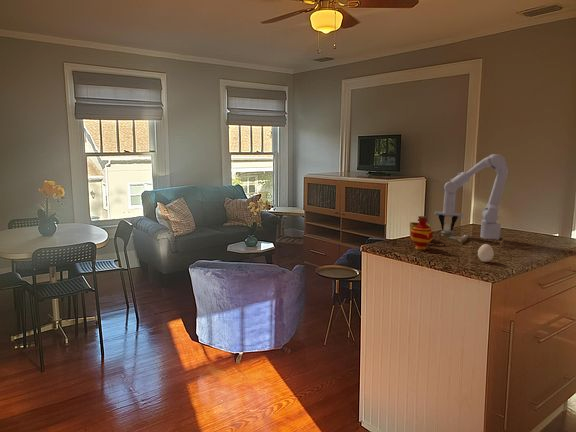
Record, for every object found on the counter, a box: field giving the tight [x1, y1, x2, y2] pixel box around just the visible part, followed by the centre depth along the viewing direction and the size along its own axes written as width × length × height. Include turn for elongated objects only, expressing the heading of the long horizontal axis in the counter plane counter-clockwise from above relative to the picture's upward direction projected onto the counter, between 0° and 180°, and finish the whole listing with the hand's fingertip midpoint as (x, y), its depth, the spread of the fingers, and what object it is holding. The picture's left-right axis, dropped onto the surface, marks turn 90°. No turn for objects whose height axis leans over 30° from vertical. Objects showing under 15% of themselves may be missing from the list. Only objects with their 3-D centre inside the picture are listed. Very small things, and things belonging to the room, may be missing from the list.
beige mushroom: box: [440, 222, 454, 236], centre depth 238 cm, size 6×6×6 cm
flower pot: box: [409, 221, 431, 234], centre depth 226 cm, size 9×9×9 cm
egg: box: [477, 243, 494, 263], centre depth 188 cm, size 6×6×8 cm
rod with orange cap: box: [456, 234, 469, 242], centre depth 223 cm, size 14×2×2 cm, turn 145°
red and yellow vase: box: [409, 215, 434, 250], centre depth 210 cm, size 10×10×15 cm
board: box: [448, 235, 468, 241], centre depth 231 cm, size 14×20×2 cm
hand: (447, 229), depth 238 cm, fingers closed on beige mushroom, 4 cm apart
